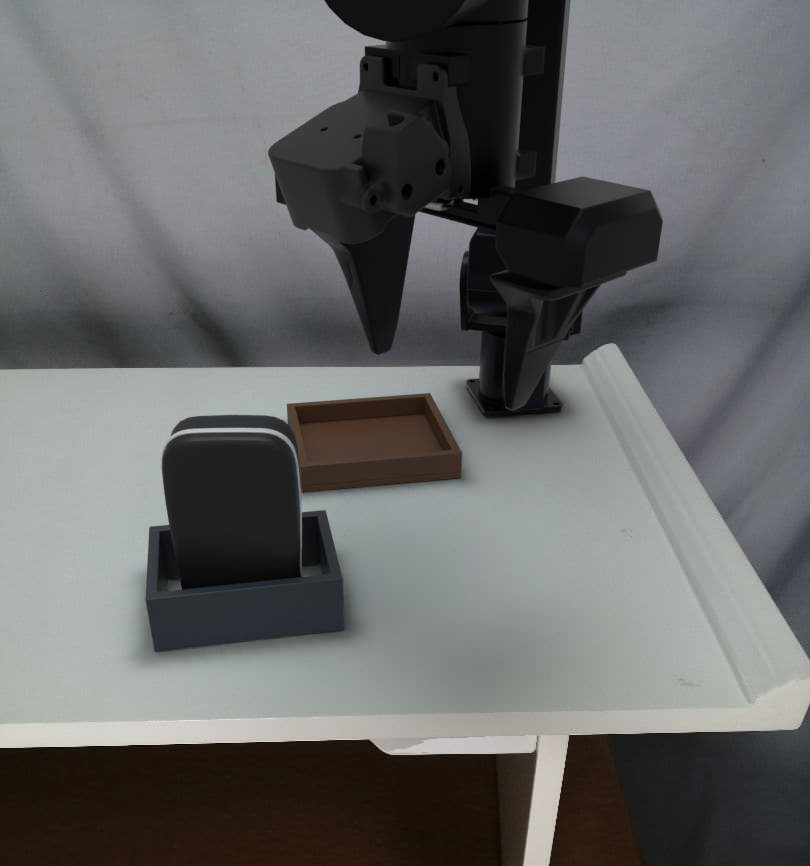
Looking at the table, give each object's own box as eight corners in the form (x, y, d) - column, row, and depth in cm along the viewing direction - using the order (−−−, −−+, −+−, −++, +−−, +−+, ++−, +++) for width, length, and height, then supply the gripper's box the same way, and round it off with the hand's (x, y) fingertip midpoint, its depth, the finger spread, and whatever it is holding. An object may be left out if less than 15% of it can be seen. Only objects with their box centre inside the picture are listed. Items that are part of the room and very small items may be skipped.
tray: (288, 427, 73) (286, 403, 72) (429, 415, 75) (430, 392, 74) (302, 492, 65) (300, 466, 64) (461, 477, 67) (462, 452, 66)
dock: (157, 576, 56) (148, 526, 54) (327, 558, 58) (325, 509, 56) (154, 652, 50) (145, 599, 48) (344, 630, 52) (342, 578, 50)
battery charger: (309, 581, 56) (300, 404, 50) (306, 621, 53) (295, 436, 47) (190, 583, 56) (165, 405, 49) (180, 623, 52) (152, 438, 46)
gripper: (159, 13, 39) (200, 367, 48) (496, 53, 28) (471, 506, 37) (360, 2, 46) (365, 315, 54) (700, 31, 35) (639, 420, 43)
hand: (444, 378), depth 47 cm, fingers open, 9 cm apart
